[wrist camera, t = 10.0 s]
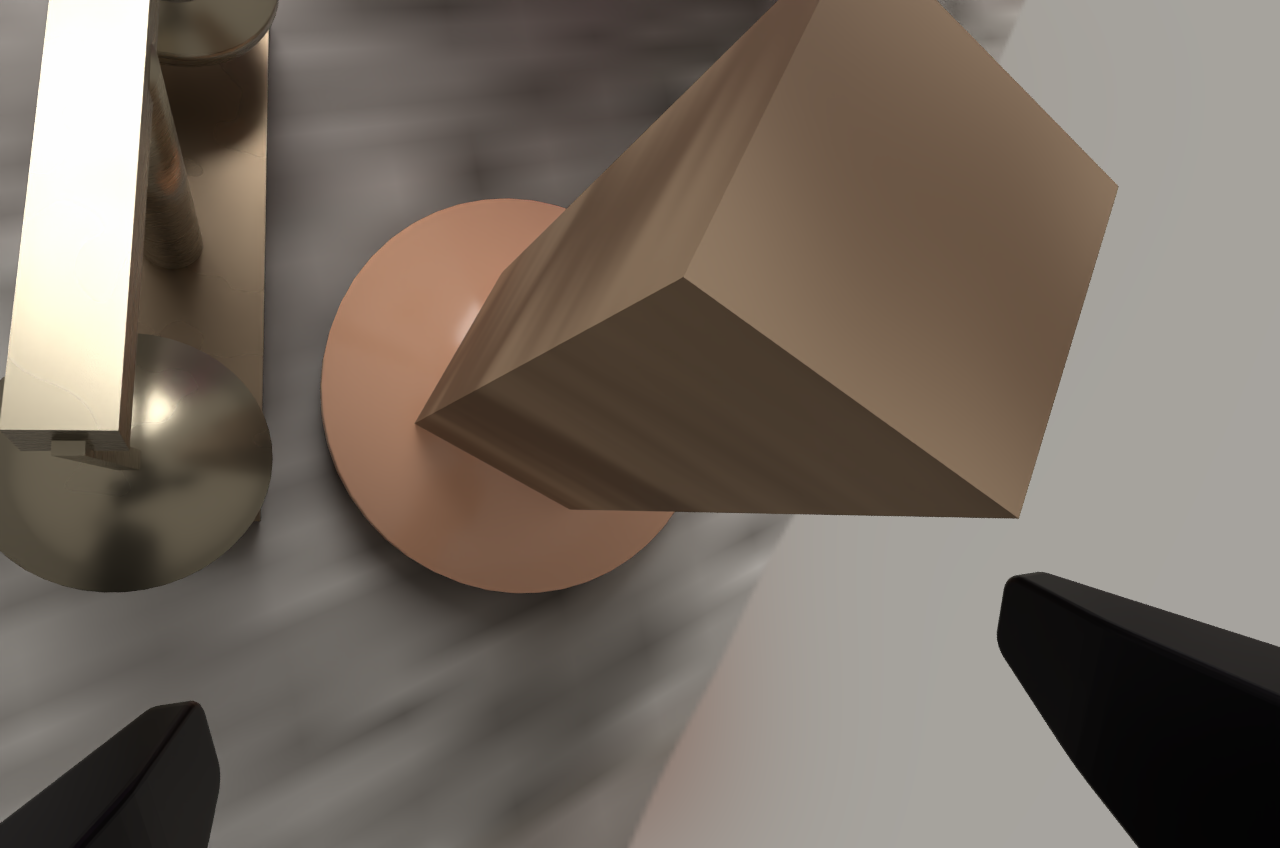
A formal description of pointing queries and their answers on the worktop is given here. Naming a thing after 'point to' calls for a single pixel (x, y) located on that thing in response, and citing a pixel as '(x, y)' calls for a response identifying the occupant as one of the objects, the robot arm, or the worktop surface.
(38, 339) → the bronze balance
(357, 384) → the terracotta dish
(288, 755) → the worktop surface
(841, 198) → the walnut block
